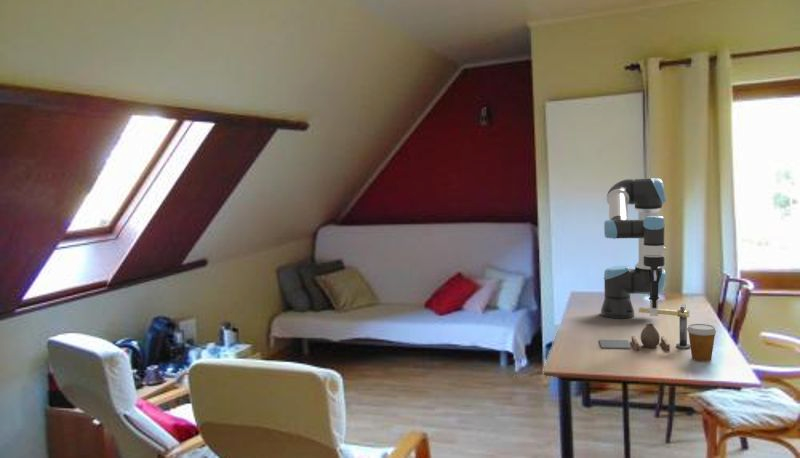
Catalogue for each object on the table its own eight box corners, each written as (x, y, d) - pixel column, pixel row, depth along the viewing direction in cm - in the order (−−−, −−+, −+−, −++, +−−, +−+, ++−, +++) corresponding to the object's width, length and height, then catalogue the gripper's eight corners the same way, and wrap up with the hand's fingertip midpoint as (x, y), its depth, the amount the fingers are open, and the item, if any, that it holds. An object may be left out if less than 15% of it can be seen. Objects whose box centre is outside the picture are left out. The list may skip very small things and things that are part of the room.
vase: (648, 349, 234) (648, 327, 234) (636, 345, 241) (636, 323, 240) (663, 347, 236) (663, 325, 236) (651, 343, 243) (651, 321, 242)
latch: (641, 310, 246) (640, 301, 245) (690, 315, 236) (690, 304, 235) (638, 313, 242) (638, 303, 241) (688, 317, 232) (688, 307, 231)
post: (674, 345, 239) (674, 314, 238) (688, 345, 238) (688, 314, 237) (677, 348, 234) (677, 317, 233) (691, 349, 233) (691, 317, 232)
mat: (599, 340, 249) (599, 339, 249) (627, 341, 247) (627, 340, 247) (601, 348, 238) (601, 347, 238) (631, 349, 236) (631, 347, 236)
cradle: (631, 341, 246) (631, 335, 246) (663, 342, 243) (663, 336, 243) (636, 350, 234) (636, 344, 234) (669, 351, 231) (669, 344, 231)
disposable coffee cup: (707, 354, 226) (707, 322, 225) (721, 362, 216) (722, 329, 215) (682, 355, 225) (682, 324, 224) (695, 363, 216) (695, 330, 215)
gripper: (666, 258, 230) (666, 319, 232) (662, 253, 242) (662, 312, 244) (644, 257, 232) (644, 318, 234) (642, 253, 244) (642, 311, 246)
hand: (654, 315), depth 239 cm, fingers closed
